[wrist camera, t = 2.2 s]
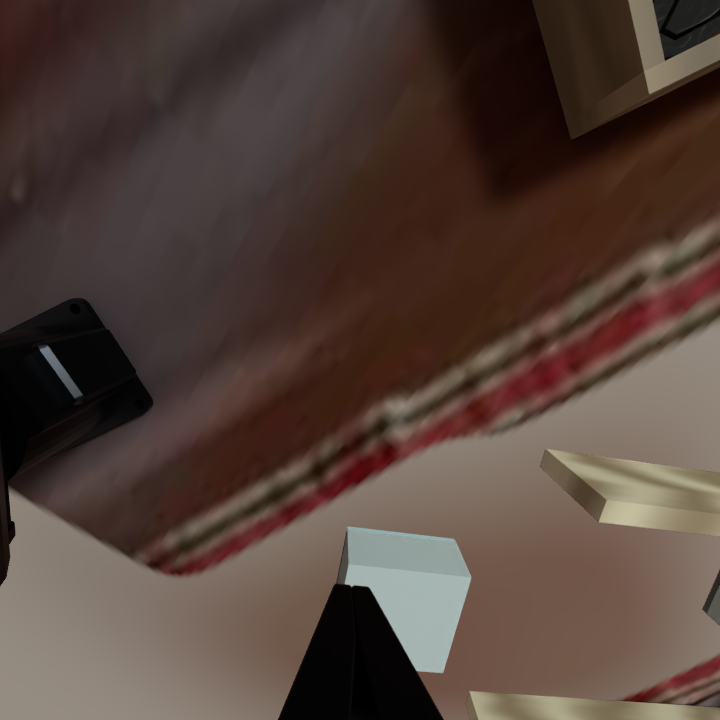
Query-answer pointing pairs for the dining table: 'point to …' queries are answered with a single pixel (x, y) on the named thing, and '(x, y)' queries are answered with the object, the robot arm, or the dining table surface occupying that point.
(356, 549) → the tile
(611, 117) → the tray
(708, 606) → the tile
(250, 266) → the dining table surface
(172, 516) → the dining table surface
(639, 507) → the box
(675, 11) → the hairbrush
